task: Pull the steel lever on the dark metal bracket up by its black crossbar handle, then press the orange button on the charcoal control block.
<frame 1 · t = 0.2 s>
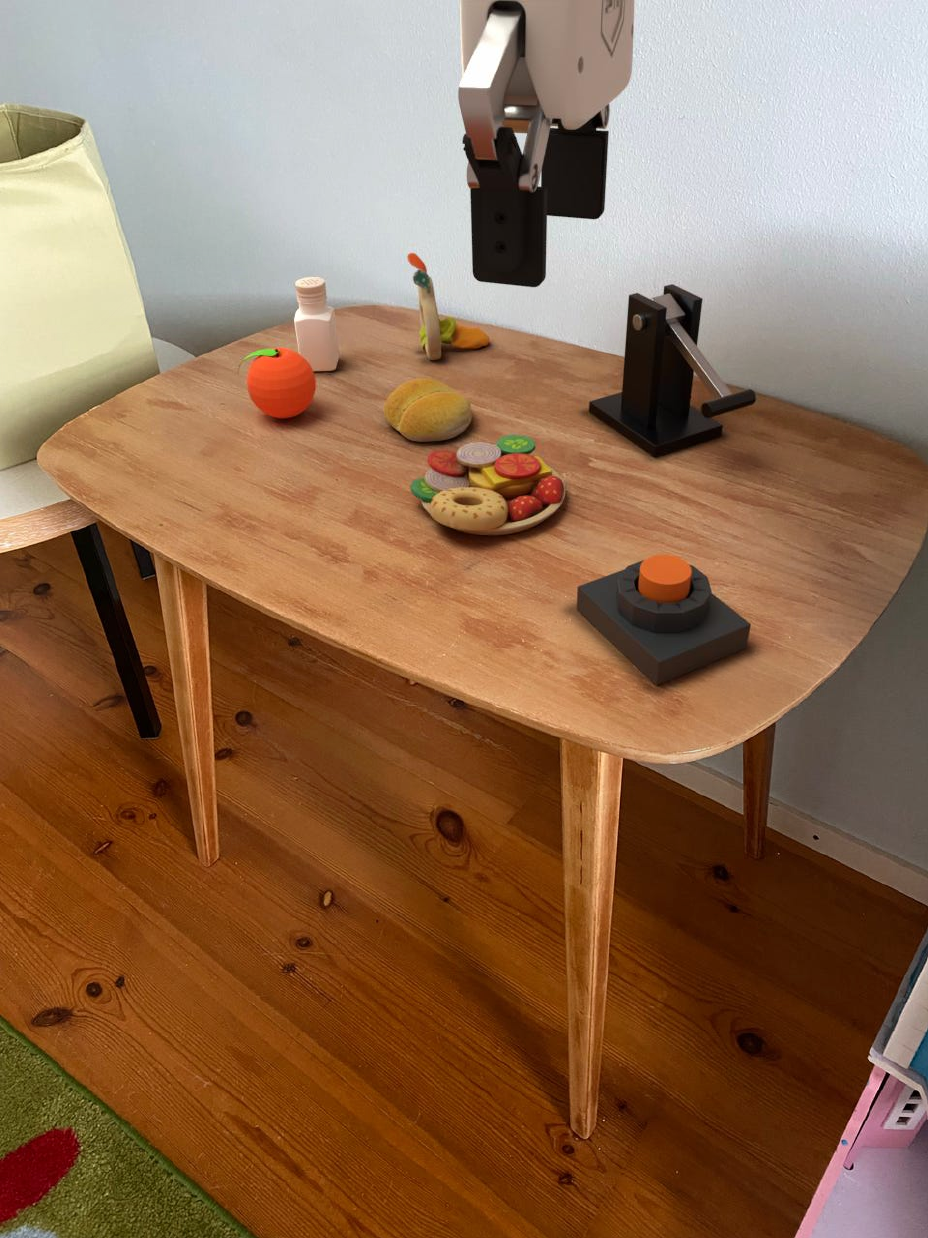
hand: (543, 246, 47), 31 cm above the table, tool pointing down, fingers open, 9 cm apart
rattle: (451, 354, 113), on the table
lever: (693, 355, 89), point 9 cm above the table, hinge at -25.0°
bread roll: (428, 425, 99), on the table
button: (664, 579, 70), point 4 cm above the table, slide at 0.1 cm
clementine: (282, 415, 102), on the table
toy food set: (489, 502, 87), on the table
salt shaker: (321, 367, 111), on the table
control block: (659, 628, 73), on the table
bracket: (653, 423, 98), on the table
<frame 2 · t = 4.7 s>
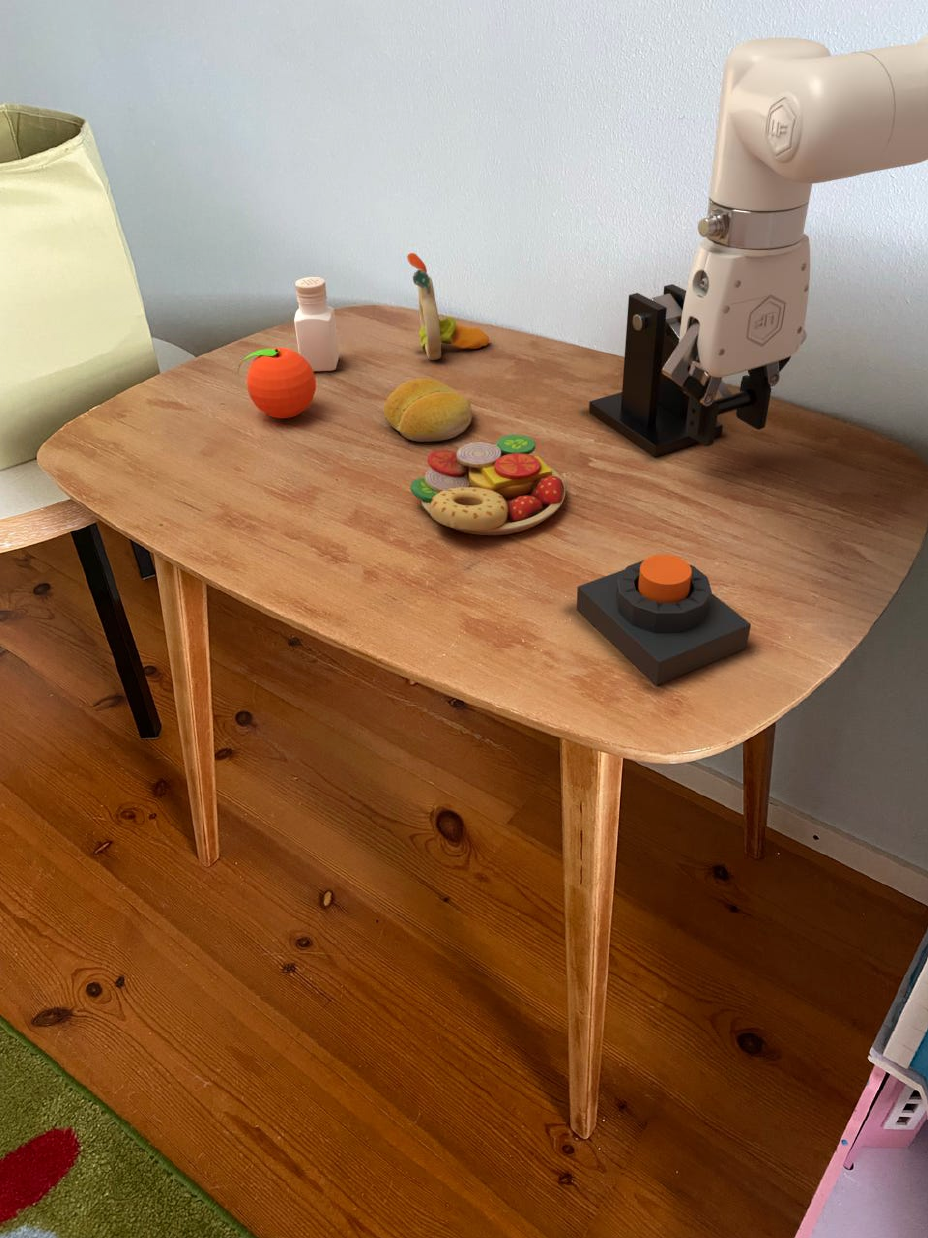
hand: (725, 429, 88), 4 cm above the table, tool pointing down, fingers closed on lever, 5 cm apart
lever: (693, 355, 89), point 9 cm above the table, hinge at -25.0°, touching gripper
everything else where it was.
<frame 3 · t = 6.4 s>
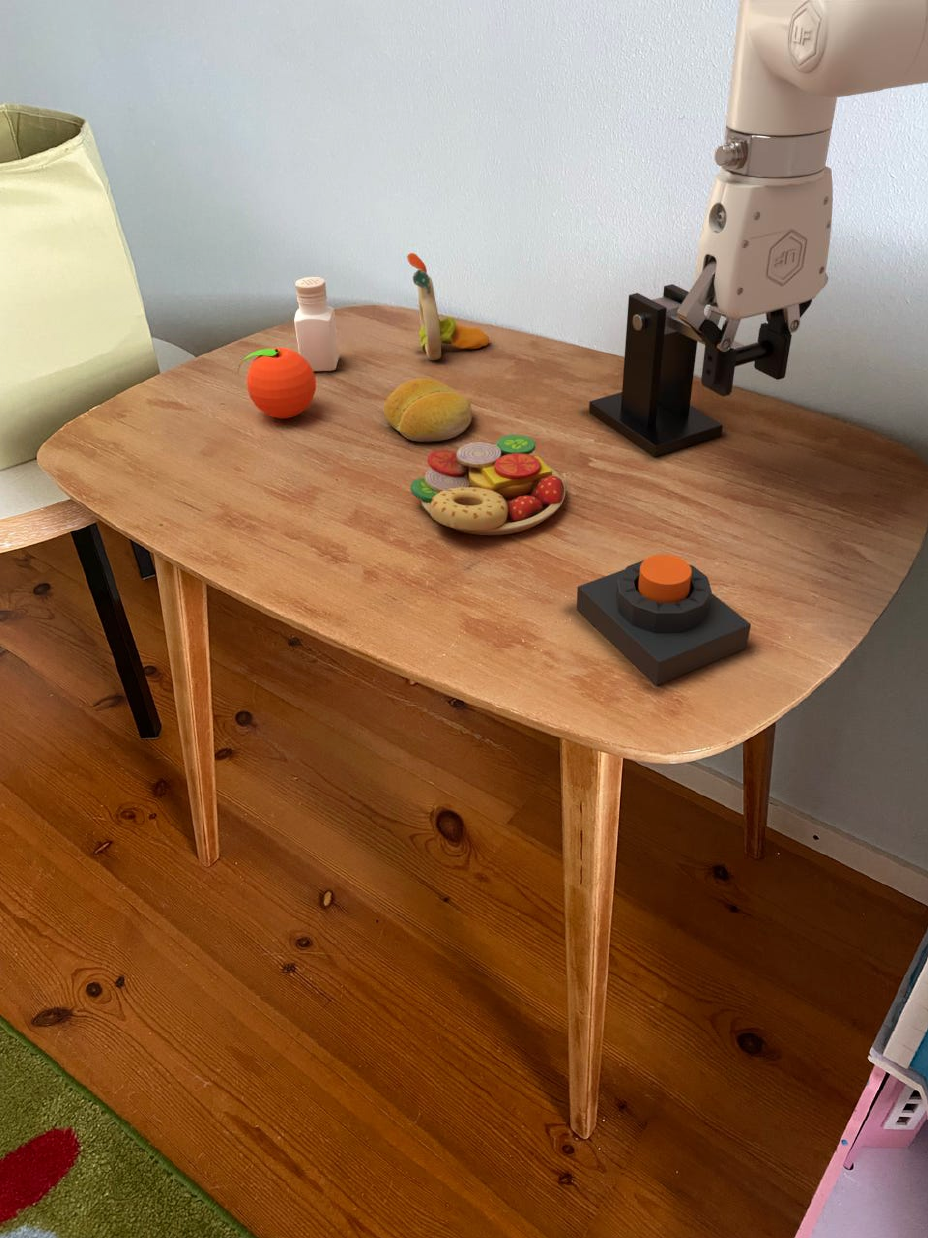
hand: (742, 379, 84), 9 cm above the table, tool pointing down, fingers closed on lever, 5 cm apart
lever: (699, 333, 87), point 11 cm above the table, hinge at 1.3°, touching gripper
everything else where it was.
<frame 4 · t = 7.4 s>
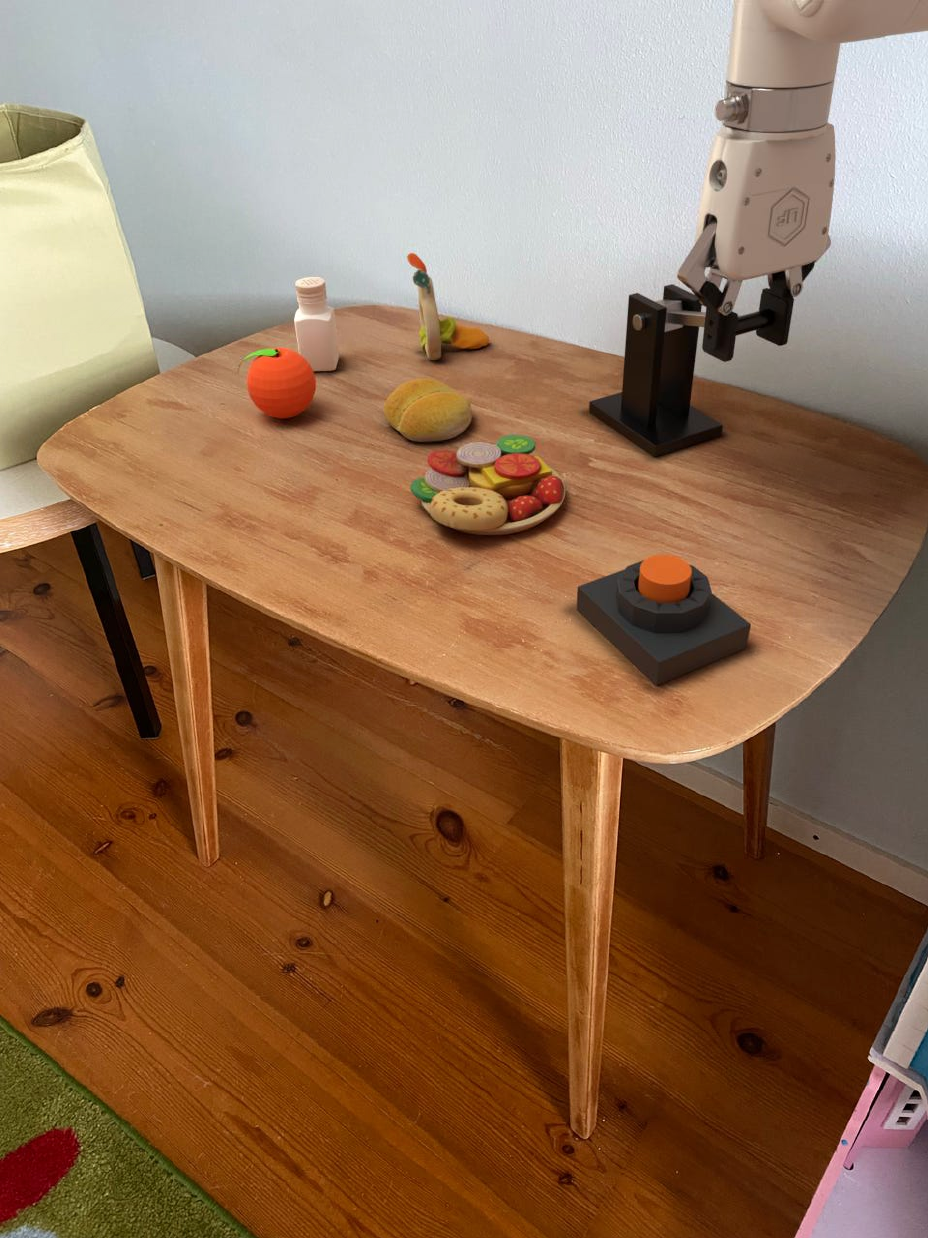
hand: (744, 345, 82), 12 cm above the table, tool pointing down, fingers closed on lever, 5 cm apart
lever: (700, 319, 86), point 12 cm above the table, hinge at 14.9°, touching gripper
everything else where it was.
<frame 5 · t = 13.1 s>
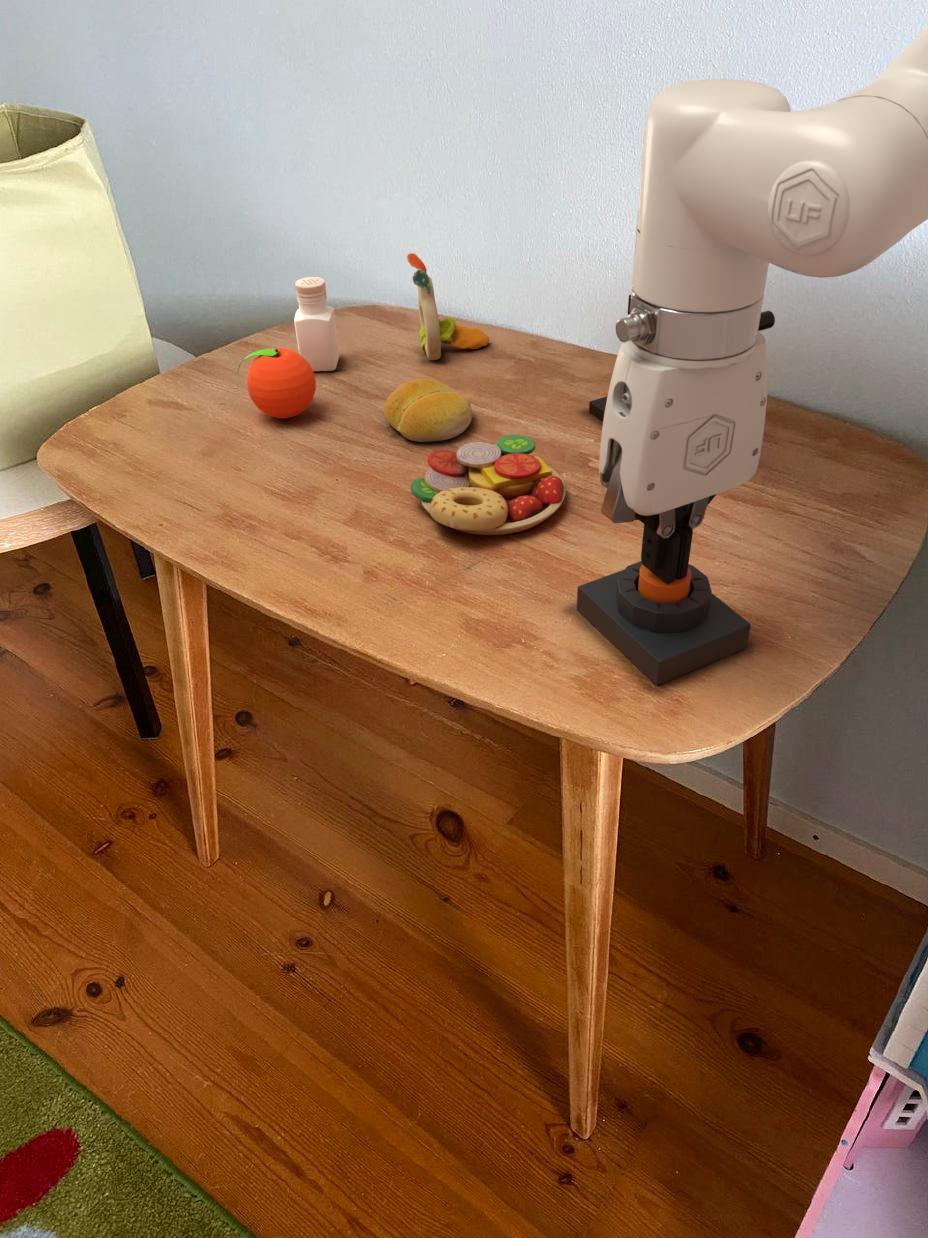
hand: (663, 570, 70), 5 cm above the table, tool pointing down, fingers closed
lever: (700, 320, 86), point 12 cm above the table, hinge at 14.1°
button: (664, 581, 70), point 4 cm above the table, slide at -0.1 cm, touching gripper
everything else where it was.
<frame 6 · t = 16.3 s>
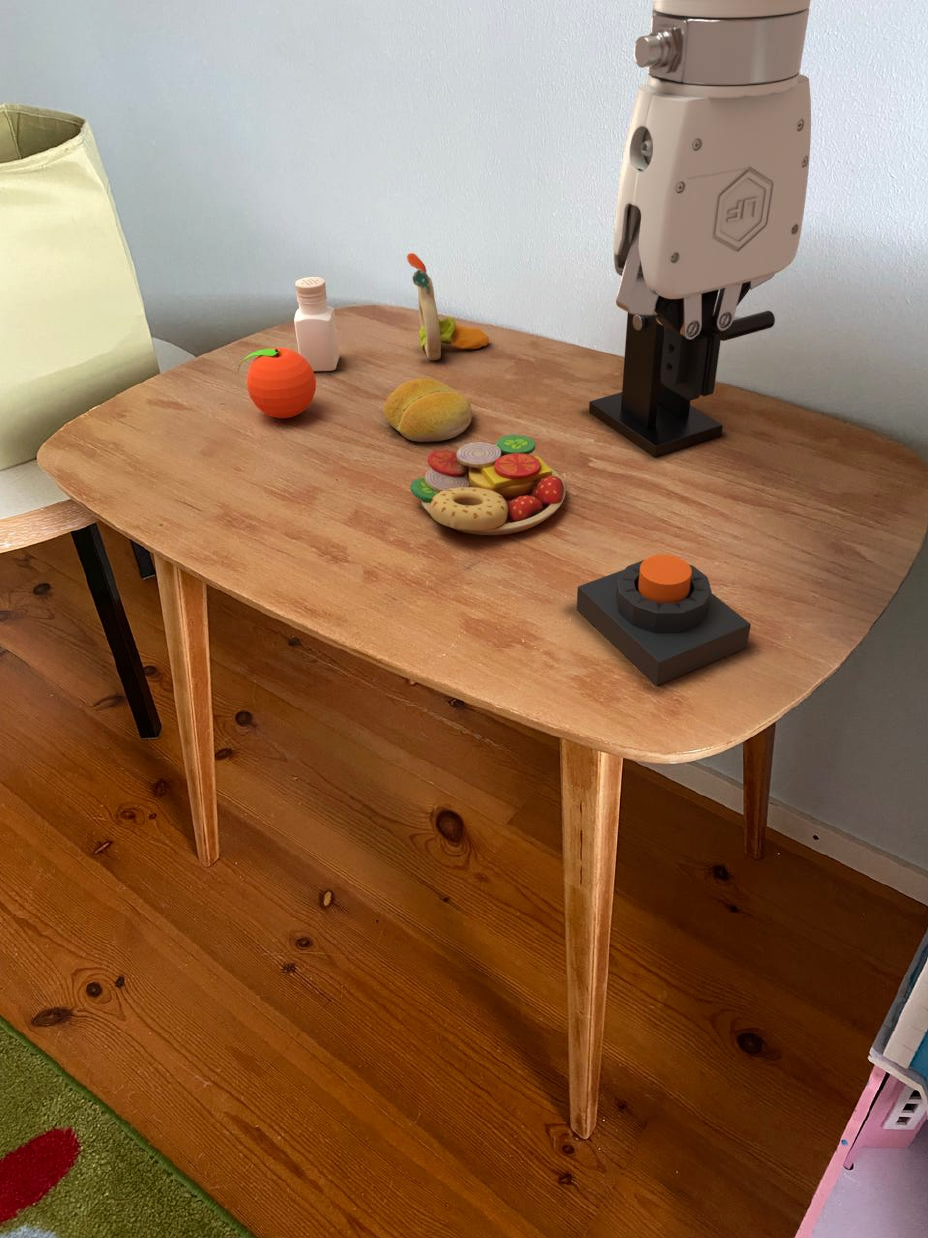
hand: (686, 388, 61), 19 cm above the table, tool pointing down, fingers closed
button: (664, 579, 70), point 4 cm above the table, slide at 0.1 cm
everything else where it was.
at the end: lever at +14° (first picture: -25°); button pushed in 1.1 cm at the most during the clip, back to where it started at the end; button slide at 0.1 cm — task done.
